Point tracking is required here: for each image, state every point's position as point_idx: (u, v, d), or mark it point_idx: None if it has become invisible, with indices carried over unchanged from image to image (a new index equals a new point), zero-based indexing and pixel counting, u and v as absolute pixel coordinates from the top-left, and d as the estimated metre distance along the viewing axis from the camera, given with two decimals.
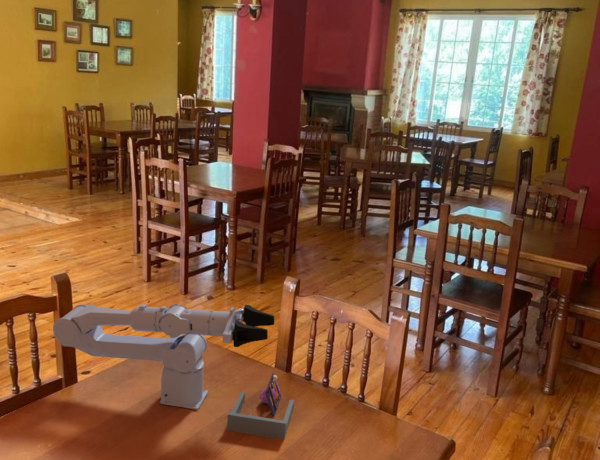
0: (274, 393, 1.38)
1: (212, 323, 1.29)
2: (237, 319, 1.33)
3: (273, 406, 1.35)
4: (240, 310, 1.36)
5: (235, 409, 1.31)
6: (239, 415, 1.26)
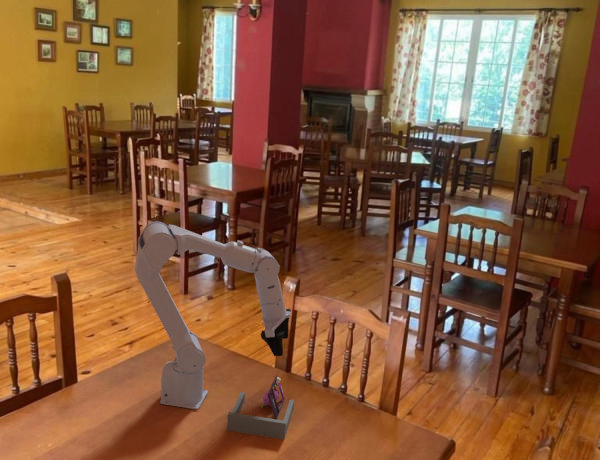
0: (277, 395, 1.37)
1: (274, 306, 1.36)
2: None
3: (276, 408, 1.34)
4: None
5: (235, 409, 1.31)
6: (239, 415, 1.26)
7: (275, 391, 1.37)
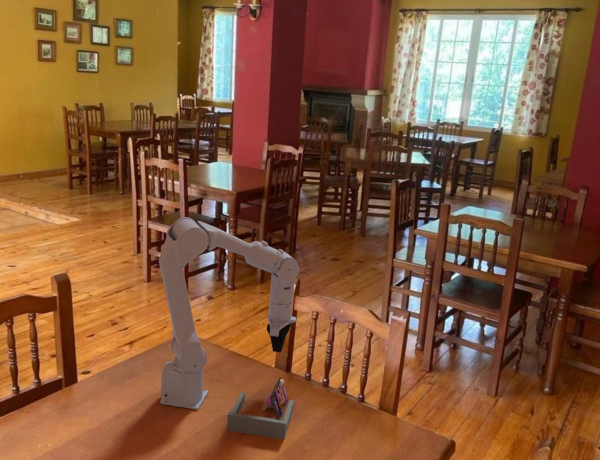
0: (280, 398, 1.36)
1: (283, 307, 1.40)
2: None
3: (278, 411, 1.34)
4: None
5: (235, 409, 1.31)
6: (239, 415, 1.26)
7: (278, 393, 1.36)
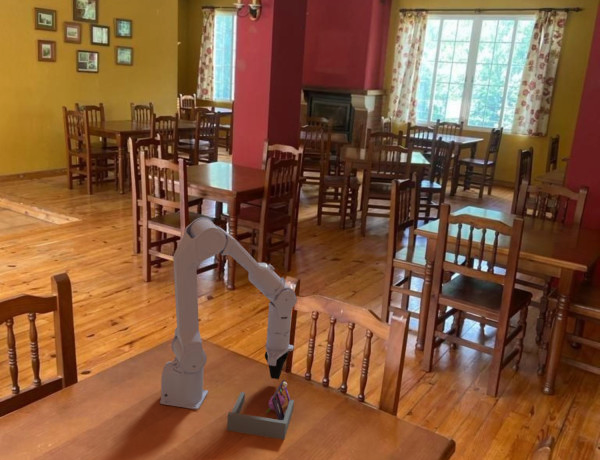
0: (283, 400, 1.35)
1: (281, 336, 1.41)
2: None
3: (280, 414, 1.33)
4: None
5: (235, 409, 1.31)
6: (239, 415, 1.26)
7: (281, 396, 1.35)
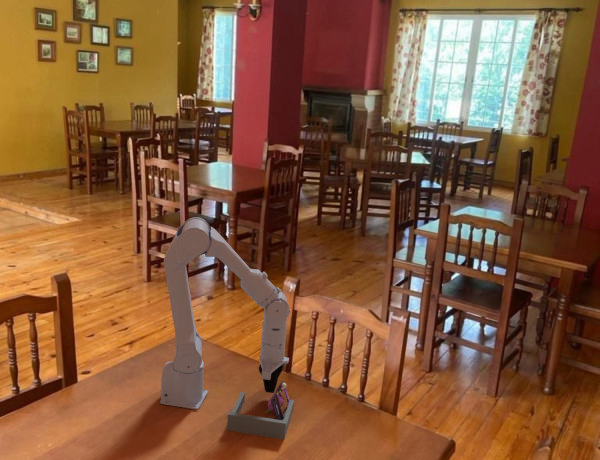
0: (282, 401, 1.35)
1: (276, 349, 1.35)
2: None
3: (279, 415, 1.32)
4: None
5: (235, 409, 1.31)
6: (239, 415, 1.26)
7: (280, 397, 1.35)
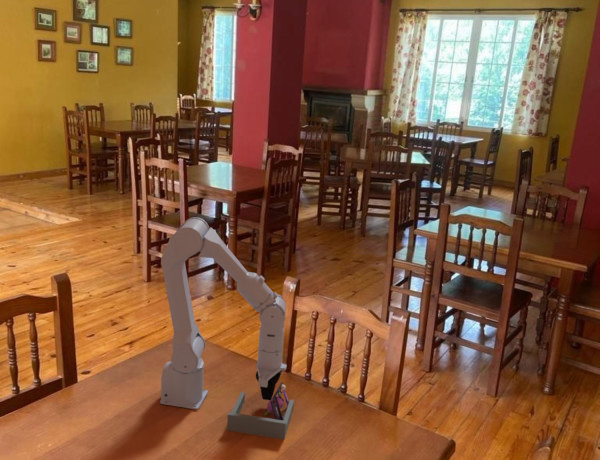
0: (281, 403, 1.34)
1: (273, 355, 1.31)
2: None
3: (279, 417, 1.31)
4: None
5: (235, 409, 1.31)
6: (239, 415, 1.26)
7: (279, 399, 1.34)
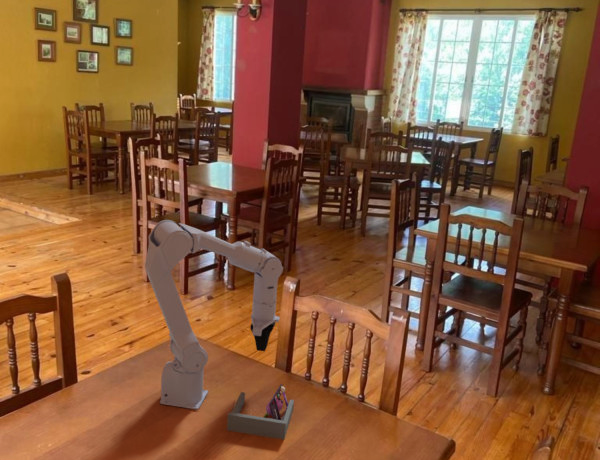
0: (280, 405, 1.33)
1: (266, 307, 1.39)
2: None
3: (278, 419, 1.31)
4: None
5: (235, 409, 1.31)
6: (239, 415, 1.26)
7: (278, 401, 1.33)
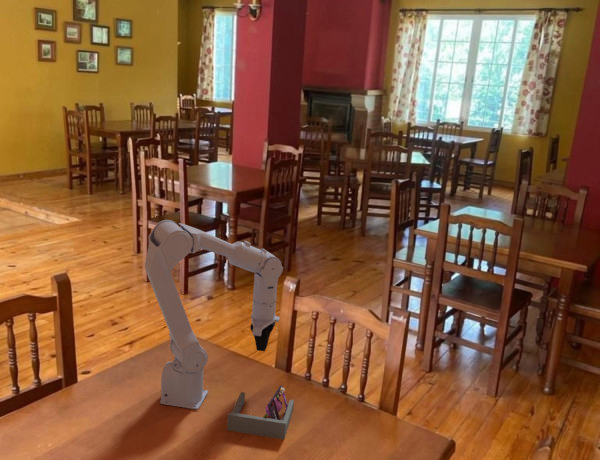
0: (280, 406, 1.33)
1: (266, 307, 1.39)
2: None
3: None
4: None
5: (235, 409, 1.31)
6: (239, 415, 1.26)
7: (278, 402, 1.33)
